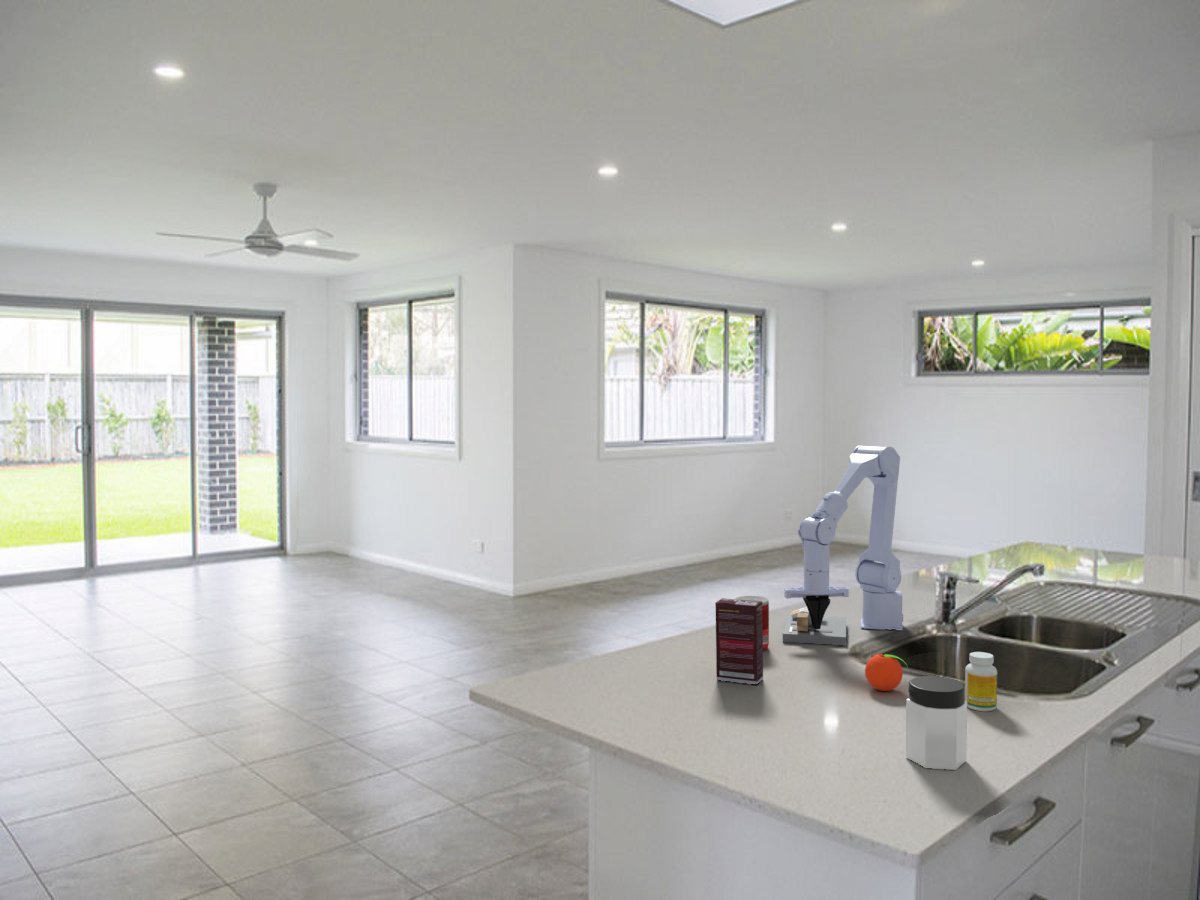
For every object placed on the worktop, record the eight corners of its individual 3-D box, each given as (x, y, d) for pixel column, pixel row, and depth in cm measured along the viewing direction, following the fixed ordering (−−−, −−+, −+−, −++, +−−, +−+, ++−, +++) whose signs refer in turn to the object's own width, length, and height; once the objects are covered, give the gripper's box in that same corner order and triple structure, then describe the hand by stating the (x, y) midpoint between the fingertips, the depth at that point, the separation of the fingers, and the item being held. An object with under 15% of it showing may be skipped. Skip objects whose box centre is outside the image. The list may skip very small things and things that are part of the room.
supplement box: (763, 679, 183) (763, 600, 182) (757, 686, 178) (757, 605, 177) (722, 674, 186) (721, 597, 185) (715, 681, 182) (714, 602, 181)
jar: (920, 744, 148) (921, 671, 147) (972, 757, 143) (973, 681, 142) (898, 762, 141) (899, 685, 140) (952, 775, 136) (953, 696, 135)
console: (846, 625, 224) (846, 612, 224) (846, 645, 206) (846, 631, 206) (787, 622, 228) (787, 609, 228) (782, 642, 210) (782, 628, 209)
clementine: (907, 686, 177) (907, 650, 177) (909, 697, 171) (909, 660, 170) (864, 683, 180) (864, 647, 179) (864, 694, 173) (865, 657, 172)
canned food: (767, 643, 209) (767, 595, 208) (770, 653, 201) (770, 603, 201) (733, 642, 210) (733, 595, 209) (735, 652, 202) (735, 603, 201)
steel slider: (814, 621, 219) (814, 608, 219) (813, 625, 215) (813, 612, 215) (804, 620, 220) (804, 607, 219) (803, 625, 215) (803, 611, 215)
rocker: (824, 604, 224) (823, 600, 224) (824, 608, 220) (822, 604, 220) (793, 614, 226) (791, 610, 226) (792, 618, 222) (791, 614, 222)
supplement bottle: (959, 702, 168) (960, 650, 167) (989, 701, 168) (989, 650, 167) (971, 712, 162) (972, 659, 162) (1002, 711, 162) (1002, 658, 162)
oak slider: (808, 626, 214) (808, 613, 214) (807, 631, 210) (807, 617, 210) (797, 626, 215) (797, 612, 214) (796, 630, 210) (796, 617, 210)
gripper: (841, 565, 215) (841, 622, 216) (780, 567, 214) (780, 624, 215) (851, 571, 208) (851, 630, 209) (789, 573, 207) (788, 632, 208)
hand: (816, 628), depth 211 cm, fingers closed
